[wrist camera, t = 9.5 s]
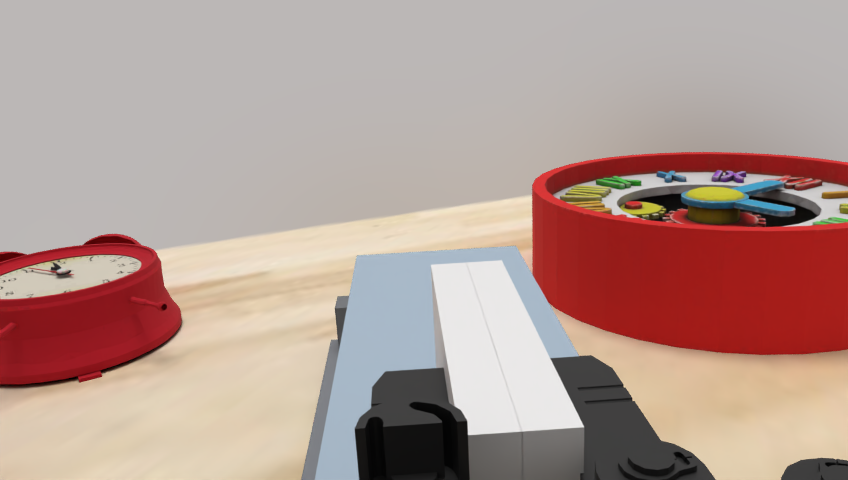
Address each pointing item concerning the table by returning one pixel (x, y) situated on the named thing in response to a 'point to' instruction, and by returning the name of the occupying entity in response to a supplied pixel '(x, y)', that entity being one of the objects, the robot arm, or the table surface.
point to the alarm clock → (81, 309)
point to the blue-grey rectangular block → (405, 335)
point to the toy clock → (699, 249)
